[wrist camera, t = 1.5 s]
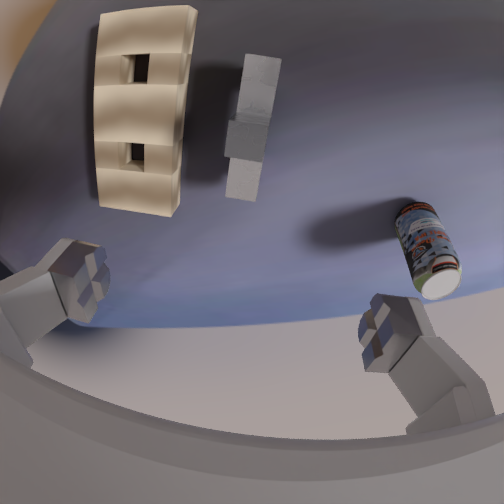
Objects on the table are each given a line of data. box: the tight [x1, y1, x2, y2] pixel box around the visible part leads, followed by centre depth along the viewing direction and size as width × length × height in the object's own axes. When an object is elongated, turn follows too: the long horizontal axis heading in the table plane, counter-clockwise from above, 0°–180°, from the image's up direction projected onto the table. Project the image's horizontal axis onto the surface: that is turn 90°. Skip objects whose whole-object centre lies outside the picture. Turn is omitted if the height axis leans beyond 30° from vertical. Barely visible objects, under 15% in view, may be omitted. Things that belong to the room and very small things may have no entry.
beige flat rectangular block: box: [94, 5, 198, 217], centre depth 27 cm, size 24×10×4 cm, turn 171°
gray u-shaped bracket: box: [224, 54, 282, 202], centre depth 25 cm, size 14×3×10 cm, turn 171°
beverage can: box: [394, 202, 462, 300], centre depth 29 cm, size 6×7×12 cm
